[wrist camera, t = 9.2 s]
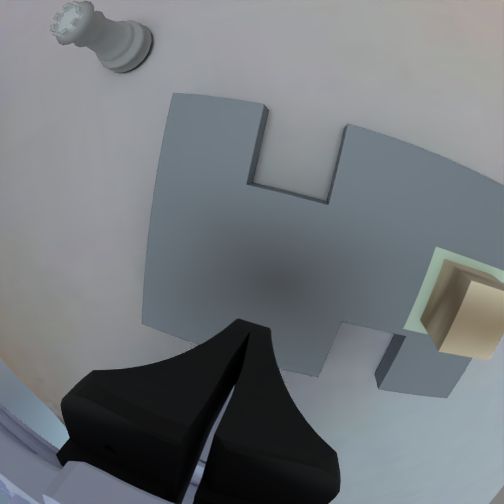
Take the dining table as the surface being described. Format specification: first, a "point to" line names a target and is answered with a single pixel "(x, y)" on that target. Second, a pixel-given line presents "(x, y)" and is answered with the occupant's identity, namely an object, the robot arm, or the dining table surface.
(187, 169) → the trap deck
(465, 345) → the oak block
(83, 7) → the rook chess piece
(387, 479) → the dining table surface
